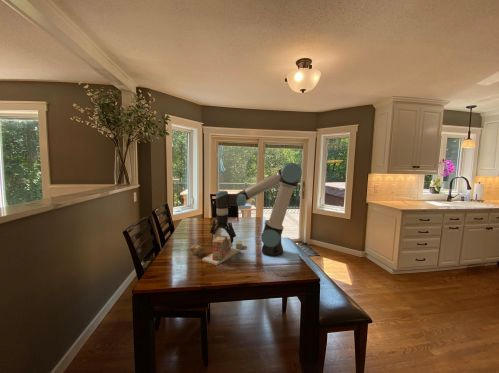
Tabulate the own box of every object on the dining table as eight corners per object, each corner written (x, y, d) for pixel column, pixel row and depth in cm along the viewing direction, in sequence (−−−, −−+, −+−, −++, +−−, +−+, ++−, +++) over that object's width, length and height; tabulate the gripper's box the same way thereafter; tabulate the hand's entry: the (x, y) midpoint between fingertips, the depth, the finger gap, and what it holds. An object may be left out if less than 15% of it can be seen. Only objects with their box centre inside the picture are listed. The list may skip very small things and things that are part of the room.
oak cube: (200, 252, 159) (200, 245, 158) (196, 255, 154) (196, 248, 154) (193, 251, 160) (193, 244, 160) (190, 254, 156) (189, 247, 155)
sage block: (242, 245, 173) (242, 240, 173) (241, 249, 166) (241, 244, 166) (236, 245, 173) (236, 240, 173) (236, 249, 166) (236, 243, 166)
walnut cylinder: (206, 255, 154) (206, 247, 153) (201, 258, 150) (201, 249, 149) (201, 254, 156) (201, 245, 155) (196, 256, 152) (196, 247, 151)
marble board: (240, 251, 162) (240, 249, 162) (216, 265, 140) (216, 263, 140) (226, 247, 168) (226, 246, 168) (202, 260, 146) (202, 258, 146)
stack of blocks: (222, 247, 165) (222, 231, 164) (231, 248, 164) (231, 231, 163) (212, 259, 144) (212, 241, 143) (221, 260, 143) (221, 241, 142)
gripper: (241, 215, 148) (241, 246, 150) (211, 211, 161) (212, 240, 163) (234, 217, 141) (234, 250, 143) (204, 213, 154) (204, 243, 156)
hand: (222, 245), depth 153 cm, fingers open, 13 cm apart
